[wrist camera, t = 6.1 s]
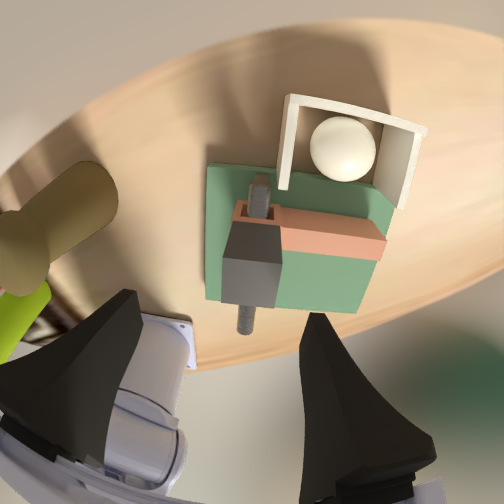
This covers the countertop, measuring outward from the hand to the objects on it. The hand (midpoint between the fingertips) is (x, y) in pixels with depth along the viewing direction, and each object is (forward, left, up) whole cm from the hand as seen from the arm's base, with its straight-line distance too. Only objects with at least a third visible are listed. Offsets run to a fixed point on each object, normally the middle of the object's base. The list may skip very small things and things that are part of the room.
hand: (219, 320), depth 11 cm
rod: (+1, -2, -9) cm, 9 cm away
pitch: (+4, -2, -10) cm, 11 cm away
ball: (+6, +6, -8) cm, 12 cm away
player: (+4, +1, -9) cm, 10 cm away
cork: (-13, +1, -11) cm, 17 cm away
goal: (+6, +6, -10) cm, 13 cm away
